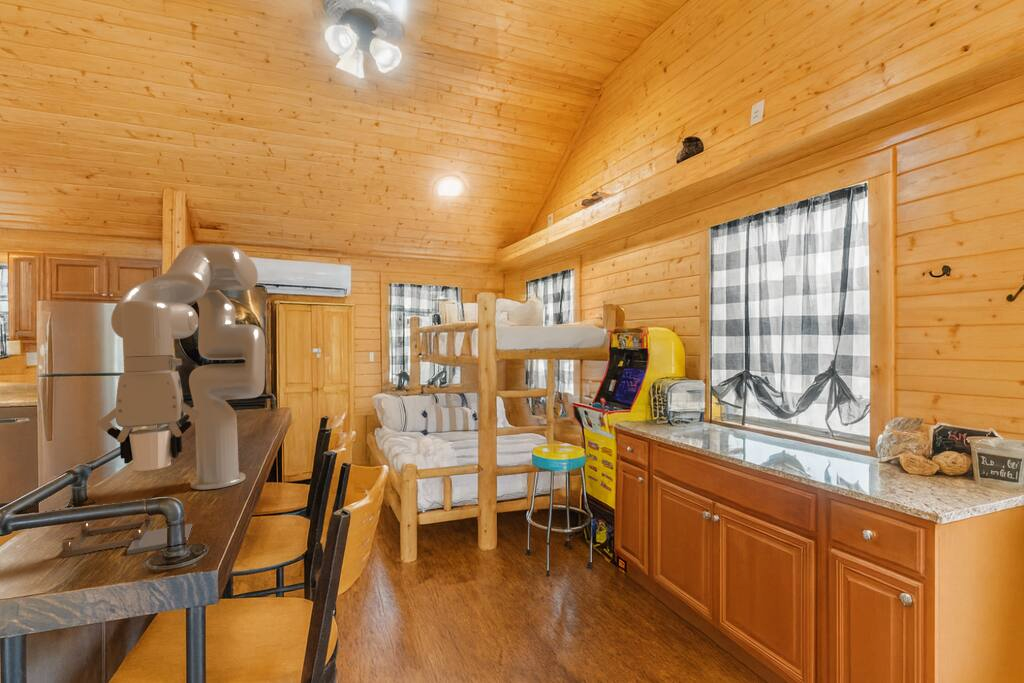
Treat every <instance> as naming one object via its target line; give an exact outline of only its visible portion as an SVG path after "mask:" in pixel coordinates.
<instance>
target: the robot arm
mask: <svg viewBox="0 0 1024 683" xmlns="http://www.w3.org/2000/svg"><path fill="white" fill-rule="evenodd" d="M258 273H259V272H258V269H257V267H256V265H255V262H253V260H252V259H251V258H250V257H249V255H247V254H246V253H245V252H244V251H242V249H239V248H238V247H236V246H232V245H225V244H224V245H219V244H218V245H216V244H215V245H214V244H212V245H211V244H210V245H209V244H208V245H207V244H194V245H189V246H186V247H184V248H183V249H181V251H180V252H179V253H178V255H177V256H176V257H175V259H174V260H173V262H172V264H171V265H170V267H169V268H168V270H167V271H166V272H165V273H162V274H159V275H157V276H155V277H151V278H150V279H147V280H145V281H143V282H140V283H138V284H135V285H133V286H132V287H131V288H129V289H128V290H126V291H125V292H124V294H122V296H121V297H120V299H119V300H118V302H117V303H116V305H115V307H114V308H113V311H112V314H111V319H110V322H111V328H112V330H113V332H114V333H115V334H116V336H118V337H119V338H121V339H122V353H123V354H122V355H123V374H122V373H121V374H119V377H118V383H117V387H116V388H117V389H116V398H115V408H114V409H112V410H111V411H110V412H109V413H107V414H106V415H105V416H103V418H101V419H100V420H99V421H98V422H97V424H96V425H97V426H98V427H99V428H100V429H102V430H103V431H104V432H106V433H107V434H108V435H109V436H111V437H112V438H114V439H115V440H116V442H118V443H119V448H120V450H119V452H120V459H122V460H123V462H124V465H125V464H129V463H131V462H133V458H132V452H131V445H130V439H129V433H130V432H133V431H134V428H140V427H149V426H150V427H151V426H152V427H153V426H160V425H161V426H162V425H163V426H164V425H167V427H169V428H170V429H171V431H172V432H173V437H172V438H171V449H172V452H171V459H172V458H173V459H177V458H178V457H179V455H180V453H182V452H183V436H182V435H183V434H184V433H185V432H186V431H187V430H188V429H189V428H190V427H191V426H193V424H194V427H195V428H194V429H195V430H194V431H195V452H196V455H195V456H196V478H195V479H193V480H191V481H190V488H192V489H194V490H200V491H201V490H216V489H222V488H226V487H227V488H228V487H231V486H233V485H236V484H237V485H238V484H240V483H242V482H243V481H245V479H246V474H245V473H243V472H241V471H239V470H240V469H239V446H238V445H239V444H238V443H239V442H238V421H237V418H238V416H237V414H236V411H235V410H234V408H233V407H232V406H231V405H230V404H229V403H228V401H230V400H244V399H254V398H258V397H260V396H261V395H262V394H263V392H264V390H265V385H266V384H265V381H266V379H265V378H266V374H265V372H266V342H265V341H266V338H265V335H264V332H263V330H262V328H261V327H260V326H258V325H255V324H246V323H245V324H236V307H235V306H234V304H233V303H232V302H231V300H230V298H228V297H227V296H226V295H225V294H224V293H222V292H221V291H249V290H251V289H254V287H256V285H257V283H258V280H259V279H258V278H259V274H258ZM194 302H196V303H197V306H198V311H199V315H198V313H197V312H196V310H195V309H194V307H192V306H191V305H189V304H192V303H194ZM197 329H198V336H197V337H198V340H197V347H198V353H199V355H200V356H201V358H203V359H206V360H211V361H213V360H214V361H217V360H218V361H224V360H244V361H245V363H242V362H241V363H213V364H205V365H201V366H197V367H196V368H194V369H193V370H192V371H191V373H190V374H189V378H188V385H189V386H188V387H189V390H190V395H191V399H192V402H193V407H191V406H189V405H188V404H187V403H185V402H184V395H183V387H182V382H181V377H180V374H179V370H176V371H175V370H174V368H175V367H178V366H182V362H183V360H182V358H181V357H180V358H177V357H174V355H173V340H179V339H186V338H188V337H191V336H192V335H194V333H195V332H196V331H197ZM185 415H187V416H189V417H188V419H187V420H186V421H185V422H184V423H183V424H182V425H181V424H180V423H179V422H180V420H181V419H183V418H184V416H185ZM113 420H115V423H116V425H117V426H118V427H121V428H122V429H121V430H120V429H119V428H117V426H116V427H115V426H114V425H113V423H112V421H113Z"/></svg>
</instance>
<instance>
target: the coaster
mask: <svg viewBox="0 0 1024 683" xmlns="http://www.w3.org/2000/svg"><path fill="white" fill-rule="evenodd" d="M193 524H194V523H188V524H184V525H185V537H186V541H187V540H188V537H189V534H190V531H191V528H192V526H194V525H193ZM167 528H168V527H166V528H165V527H164V528H158V529H153V530H149V531H146V532H145V533H144V535H143V537H142V538H141V539H140V540H134V541H132V543H131V545H130V546H129V547H128V548H127V549H126V555H128V556H129V555H132V554H140V553H144V552H150V551H155V550H160V549H166V548H165V547H166V546H167ZM192 529H193V528H192ZM191 532H192V531H191ZM190 535H191V534H190ZM189 538H190V537H189ZM188 541H189V540H188Z"/></svg>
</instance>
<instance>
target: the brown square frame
mask: <svg viewBox="0 0 1024 683" xmlns="http://www.w3.org/2000/svg"><path fill="white" fill-rule="evenodd" d="M143 517H144V519H143V520H138V521H131V522H124V523H123V522H122V523H117V524H112V525H106V526H100V527H99V526H98V527H93V528H90V522H89V521H84V522H81V523H80V531H79V533H78V534H77V535H76V536H75V537H74V538H73V539H72V540H65V541H63V542H61V543H62V544H61V546H62V550H61V558H63V557H64V558H68V557H73V556H74V557H75V556H80V555H85V554H84V553H86V554H90V553H89V552H91V553H93V552H92V551H97V550H101V549H108V550H110V549H109V548H113V549H116V548H115V547H119V548H122V547H121V546H125V547H127V546H126V545H131V543H132V541H134V540H140V539H141V538H142V537H143V535H144V533H145V532H146V531H148V530H149V531H150V529H151V527H152V525H153V524H152V522H153V518H152V517H153V515H152V516H146V515H144V516H143ZM150 526H151V527H150ZM136 527H139V528H136ZM131 528H133V529H134V530H132V529H131ZM149 528H150V529H149ZM123 529H127V530H132V533H133V534H132V535H133V537H129V538H124V539H123V538H122V539H118V540H111V541H105V542H101V543H100V542H99V543H94V544H89V545H84V546H81V545H82V544H83V543H84V541H85V540H86V539H87V538H88V537H89V536H90V535H91V536H94V535H93V534H97V535H100V534H99V533H103V534H106V533H105V532H109V533H112V532H111V531H115V532H118V531H117V530H121V531H124V530H123ZM91 536H90V537H91ZM82 542H83V543H82ZM81 543H82V544H81ZM97 552H98V551H97ZM79 554H80V555H79Z"/></svg>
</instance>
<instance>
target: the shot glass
mask: <svg viewBox="0 0 1024 683" xmlns="http://www.w3.org/2000/svg"><path fill="white" fill-rule="evenodd" d="M172 437H173V432H172V431H171V429H170V428H169V426H167V427H166V426H165V427H164V426H163V427H151V428H143V429H137V430H132V432H130V433H129V439H130V445H131V452H132V458H133V460H132V464H133V470H134V471H137V472H142V471H143V472H147V471H153V470H159V469H163V468H167V467H169V466H170V465H171V463H172V449H171V438H172Z"/></svg>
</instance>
